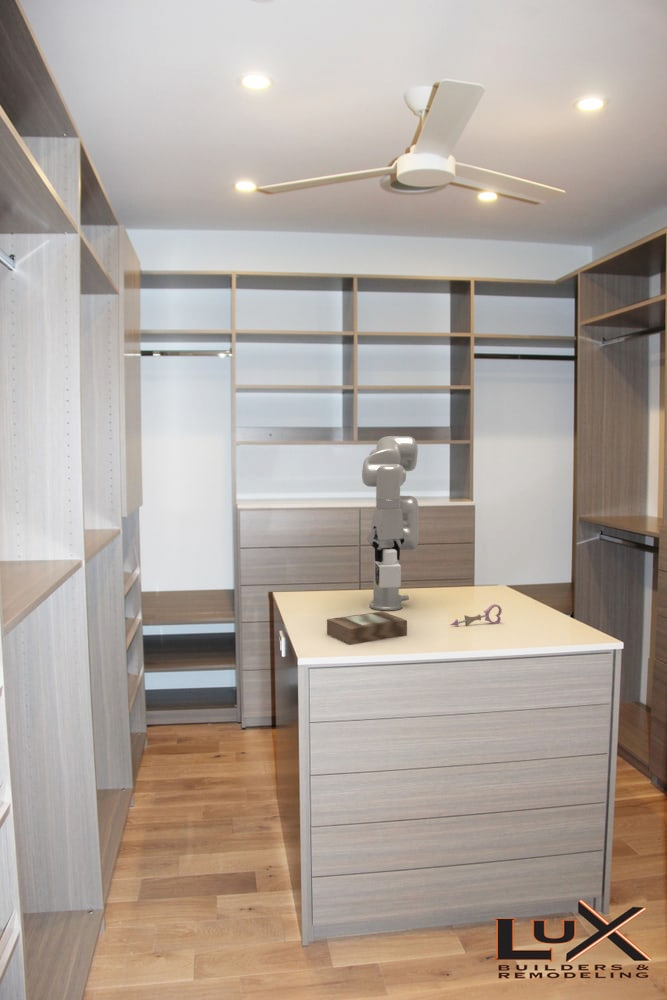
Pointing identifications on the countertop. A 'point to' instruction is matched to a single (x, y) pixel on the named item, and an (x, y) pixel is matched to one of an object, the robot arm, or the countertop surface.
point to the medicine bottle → (388, 570)
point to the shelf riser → (366, 627)
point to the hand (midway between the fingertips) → (387, 560)
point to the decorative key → (478, 617)
